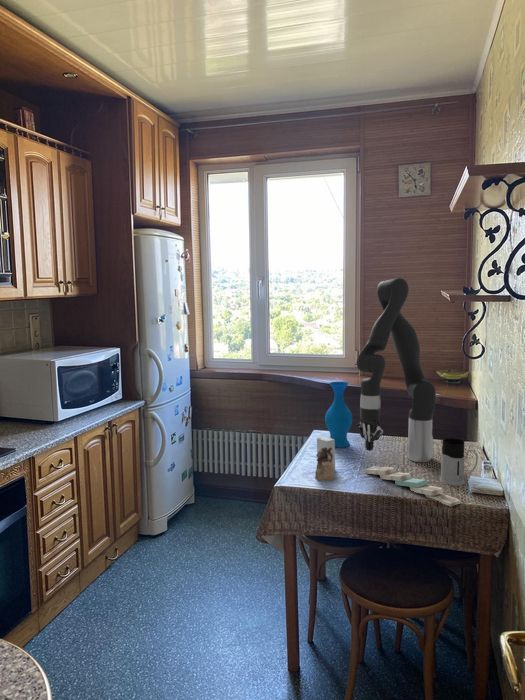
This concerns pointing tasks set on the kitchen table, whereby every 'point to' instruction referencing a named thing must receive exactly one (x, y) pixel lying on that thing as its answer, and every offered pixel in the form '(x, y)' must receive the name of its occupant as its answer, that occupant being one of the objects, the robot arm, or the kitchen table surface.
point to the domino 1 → (380, 470)
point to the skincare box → (327, 446)
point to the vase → (338, 416)
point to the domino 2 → (396, 476)
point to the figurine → (324, 465)
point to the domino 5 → (445, 499)
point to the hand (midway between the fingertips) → (369, 450)
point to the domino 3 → (412, 482)
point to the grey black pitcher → (454, 462)
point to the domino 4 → (427, 490)
